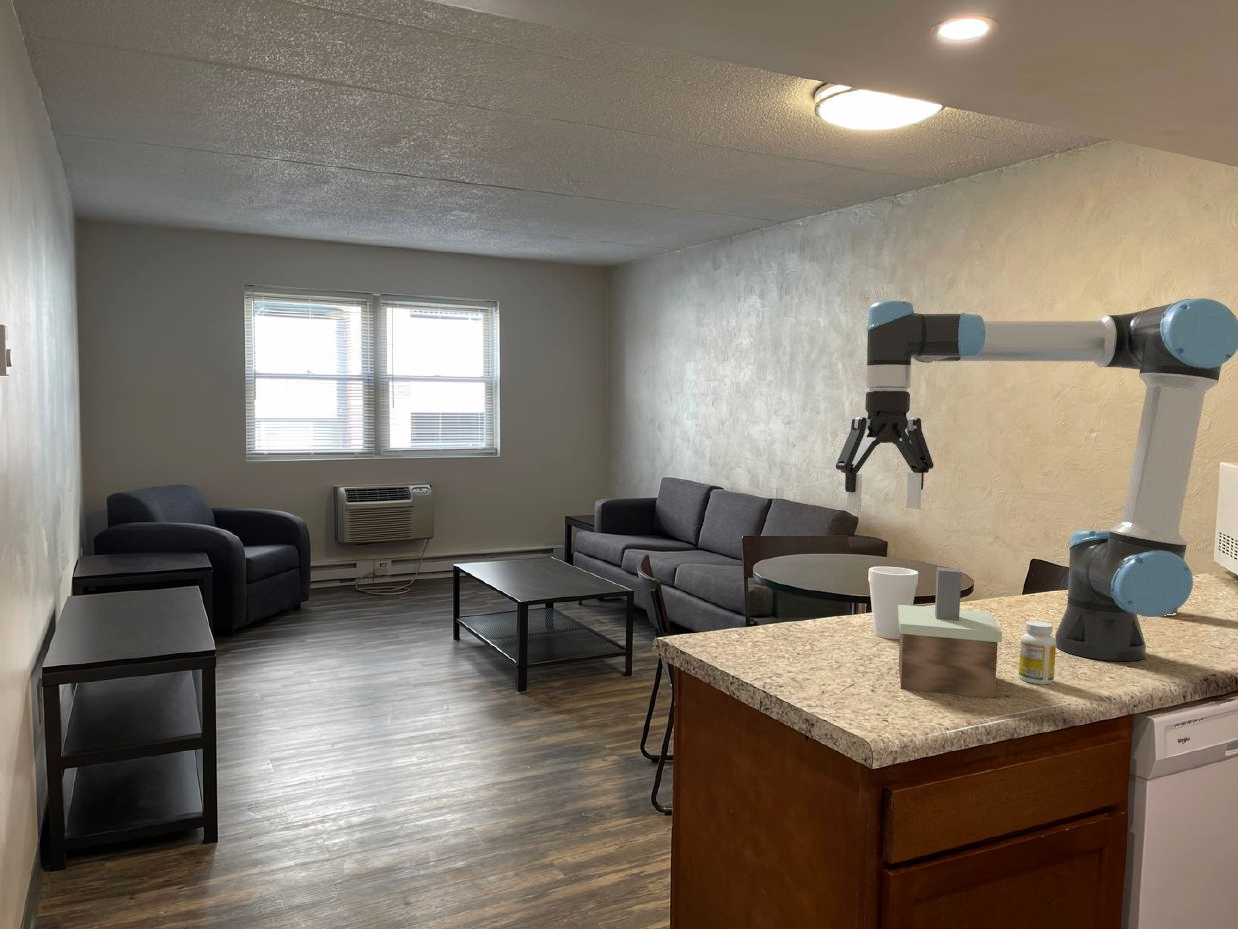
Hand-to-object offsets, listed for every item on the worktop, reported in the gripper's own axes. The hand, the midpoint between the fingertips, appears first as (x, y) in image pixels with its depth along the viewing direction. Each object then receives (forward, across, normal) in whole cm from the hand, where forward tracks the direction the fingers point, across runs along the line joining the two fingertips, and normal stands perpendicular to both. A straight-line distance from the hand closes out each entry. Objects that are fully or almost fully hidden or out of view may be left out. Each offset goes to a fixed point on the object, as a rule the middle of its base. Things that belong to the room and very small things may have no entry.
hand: (884, 510), depth 157 cm
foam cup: (+27, -14, -13) cm, 33 cm away
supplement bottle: (+27, -16, +20) cm, 37 cm away
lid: (+18, -1, +14) cm, 23 cm away
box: (+27, -1, +14) cm, 31 cm away
